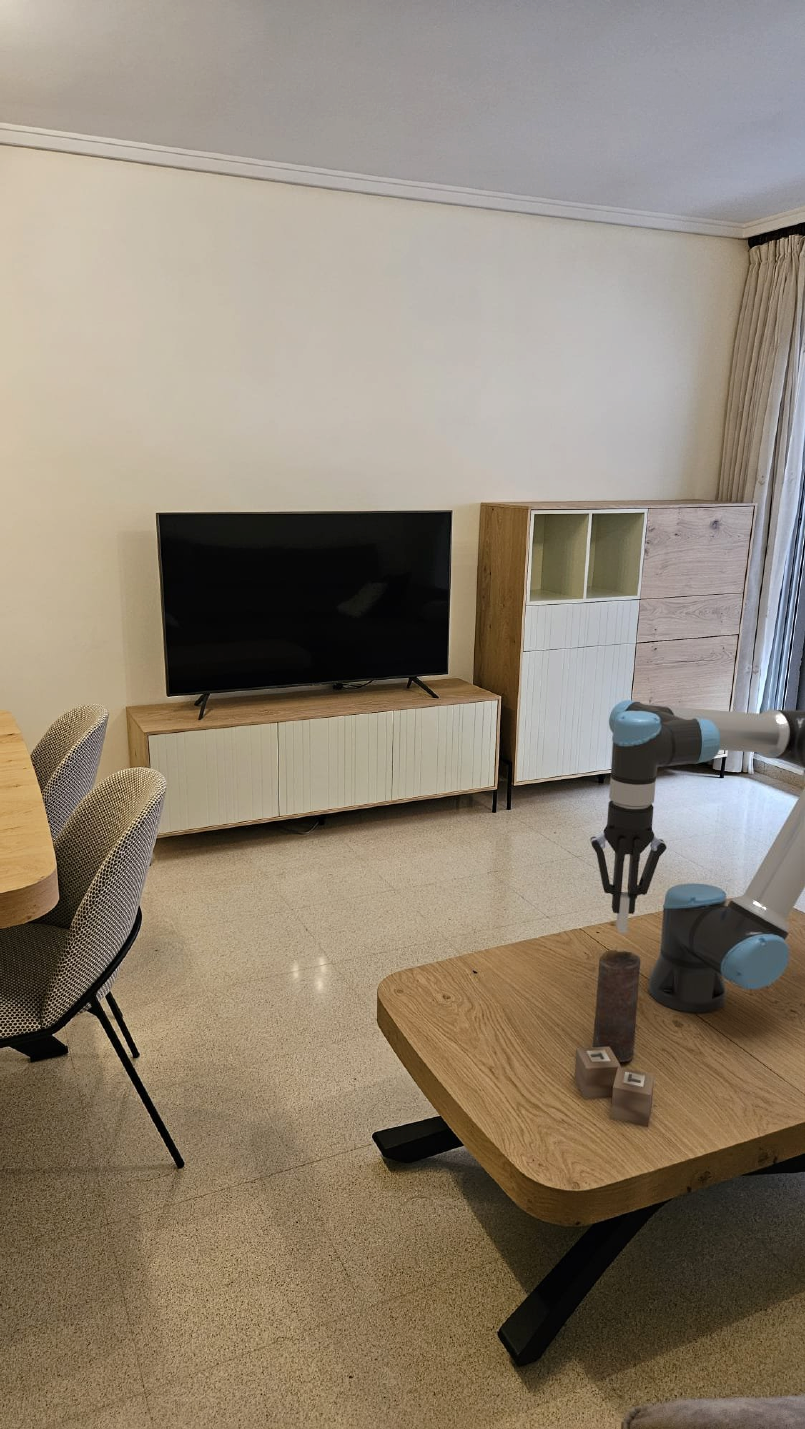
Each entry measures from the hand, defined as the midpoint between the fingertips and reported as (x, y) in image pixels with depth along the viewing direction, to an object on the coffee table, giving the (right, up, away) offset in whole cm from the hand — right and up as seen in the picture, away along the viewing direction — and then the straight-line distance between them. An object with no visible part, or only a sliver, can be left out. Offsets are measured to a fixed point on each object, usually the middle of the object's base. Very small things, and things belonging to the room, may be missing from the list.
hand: (621, 929), depth 173 cm
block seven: (-1, -28, -10) cm, 30 cm away
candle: (0, -25, +6) cm, 25 cm away
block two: (-5, -27, -3) cm, 27 cm away
